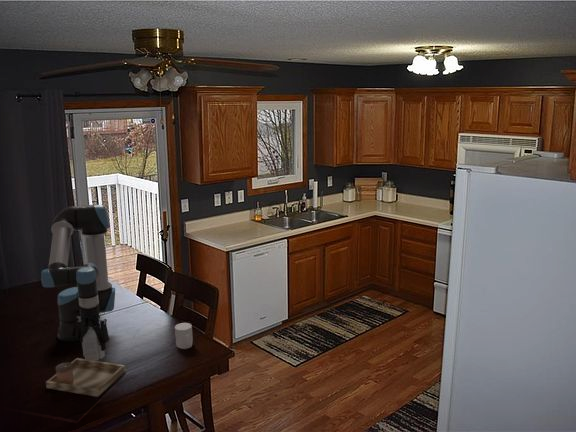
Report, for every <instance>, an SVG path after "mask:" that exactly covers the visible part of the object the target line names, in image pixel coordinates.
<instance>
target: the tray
mask: <svg viewBox="0 0 576 432" xmlns="http://www.w3.org/2000/svg"><path fill="white" fill-rule="evenodd" d="M70 363H72V366H73V367H72V370H73V379H74V383H73V384H72V385H70V384H64V383H58V379H57V373H55V374H54V375H53V376H52V377H50V378H49V379H48V380H47V381H45V386H46V389H52V390H56V391H62V392H67V393H73V394H80V395H86V396H89V397H90V396H91V397H95V398H96V397H97V398H98V397H99V396H101V394H103V393H104V392H105V391H106V390H107V389H108V388H109V387H110V386H111V385H112V384H114V382H116V381H117V380H118V379H119V378H120V377H121V376H122V375H123V374H124V373H125V372H126V365H125V364H119V363H118V364H117V363H113V362H106V361H100V360H97V361H85V358H79V357H76V358H75V359H74V360H72V361H71V362H70Z"/></svg>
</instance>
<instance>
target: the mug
mask: <svg viewBox="0 0 576 432" xmlns="http://www.w3.org/2000/svg"><path fill="white" fill-rule="evenodd" d="M174 336H175V346H176V347H177V348H179V349H182V350H187V349H189V348H192V346H193V341H194V340H193V339H194V338H193V326H192V323H190V322H181V323H177V324H176V325H175V326H174Z"/></svg>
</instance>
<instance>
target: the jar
mask: <svg viewBox="0 0 576 432" xmlns="http://www.w3.org/2000/svg"><path fill="white" fill-rule="evenodd" d="M72 367H73V366H72V363H71V362H65V361H64V362H62V363H59V364H57V365H56V366H55V371H56V374H57V379H58V383H64V384H70V385H72V384H73V383H74V379H73V370H72Z"/></svg>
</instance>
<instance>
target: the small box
mask: <svg viewBox="0 0 576 432" xmlns="http://www.w3.org/2000/svg"><path fill="white" fill-rule="evenodd" d="M98 344H99V340H98V338H97V336H96V333H95V331H94V330H93V329H90V330H88V331H87V332H86V334H85V336H84V337H83V345H84V354H85V356H84V359H85V361H100V358H99V348H98Z"/></svg>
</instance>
